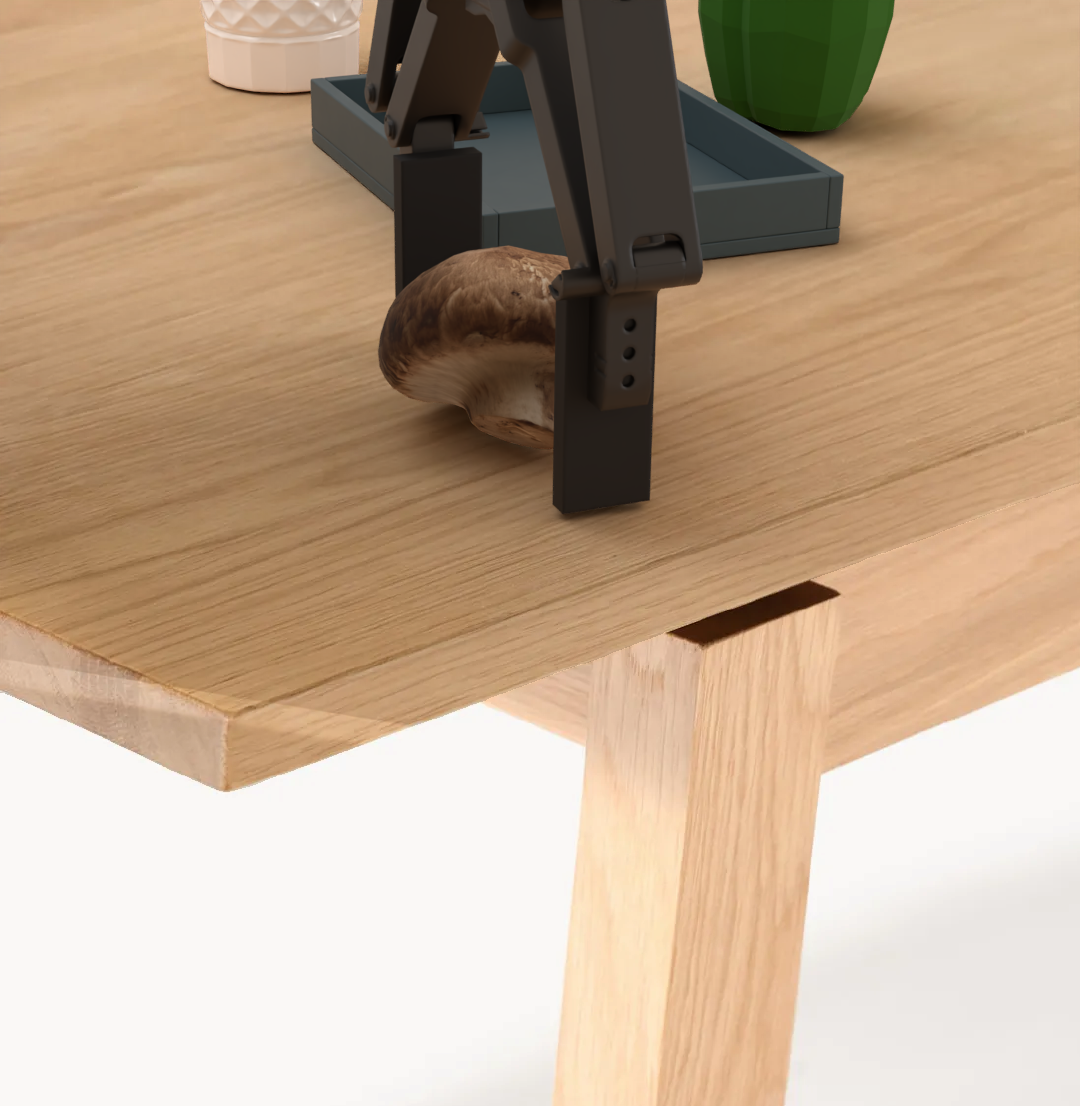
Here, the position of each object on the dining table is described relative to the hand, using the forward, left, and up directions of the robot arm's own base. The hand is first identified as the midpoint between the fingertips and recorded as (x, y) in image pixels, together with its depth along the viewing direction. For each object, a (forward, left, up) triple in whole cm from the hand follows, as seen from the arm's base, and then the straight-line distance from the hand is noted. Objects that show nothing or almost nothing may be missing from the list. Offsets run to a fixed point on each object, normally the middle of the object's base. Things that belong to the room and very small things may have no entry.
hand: (514, 422), depth 77 cm
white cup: (+6, +42, 0) cm, 42 cm away
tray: (+11, +22, 0) cm, 25 cm away
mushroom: (0, 0, 0) cm, 0 cm away
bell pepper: (+24, +28, 0) cm, 37 cm away
